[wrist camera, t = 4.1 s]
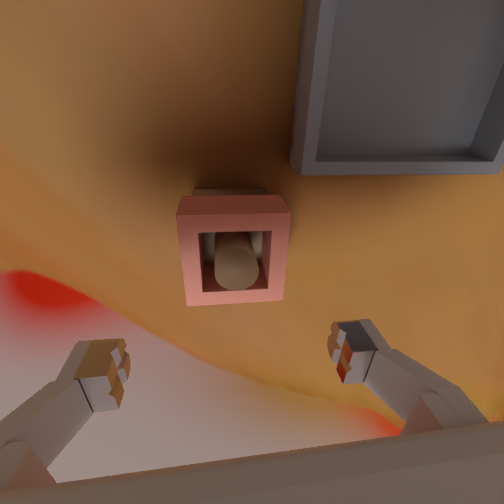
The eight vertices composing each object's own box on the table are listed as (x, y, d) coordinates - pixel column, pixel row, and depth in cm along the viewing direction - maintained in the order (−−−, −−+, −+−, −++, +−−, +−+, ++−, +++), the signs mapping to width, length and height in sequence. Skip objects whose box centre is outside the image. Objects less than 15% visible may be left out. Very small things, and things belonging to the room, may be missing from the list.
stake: (263, 188, 20) (286, 229, 14) (261, 248, 22) (278, 305, 16) (194, 189, 19) (185, 232, 13) (199, 250, 22) (193, 310, 16)
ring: (279, 194, 17) (291, 212, 14) (273, 273, 20) (282, 300, 17) (181, 196, 16) (176, 215, 14) (190, 277, 19) (187, 306, 17)
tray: (573, -109, 14) (655, -156, 11) (462, 164, 21) (498, 174, 18) (317, -145, 12) (344, -209, 10) (289, 164, 19) (300, 175, 17)
